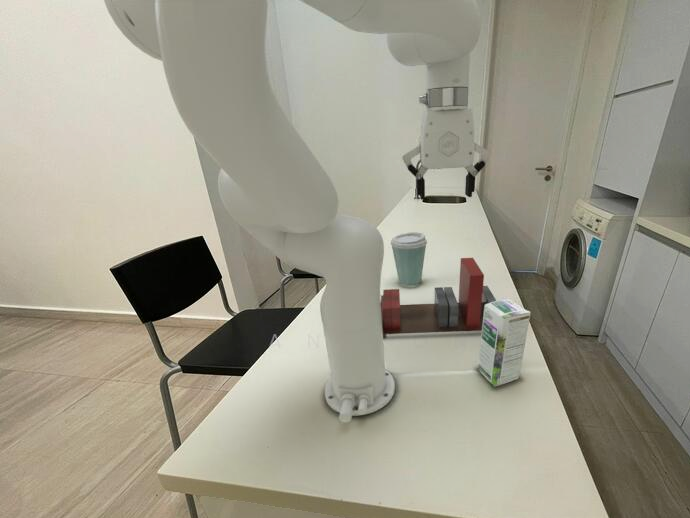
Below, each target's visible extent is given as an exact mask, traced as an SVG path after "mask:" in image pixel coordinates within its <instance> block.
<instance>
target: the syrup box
mask: <svg viewBox="0 0 690 518" xmlns="http://www.w3.org/2000/svg"><path fill="white" fill-rule="evenodd" d="M530 319H531V311H529V310H527V309H526V308H524V307H523V306H521V305H520V304H518V303H516V302H515V301H513V300H512V299H510V298H509V299H500V300H496V301H495V302H491V303H488V304H485V307H484V315H483V325H482V331H481V336H480V345H479V355H478V361H477V367H478V368H477V371H479V373H481V375H482V376H483V377H484V378H485V379H486V380H487V381H488V382H489V383H490V384H491V385H492V386H493V387H494V388H496V387H498V386H502V385H504V384H508V383H511V382H513V381H516V380H519V379H520V374H521V369H522V363H523V358H524V354H525V353H524V352H525V346H526V341H527V337H528V329H529V326H530V325H529V324H530Z"/></svg>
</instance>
